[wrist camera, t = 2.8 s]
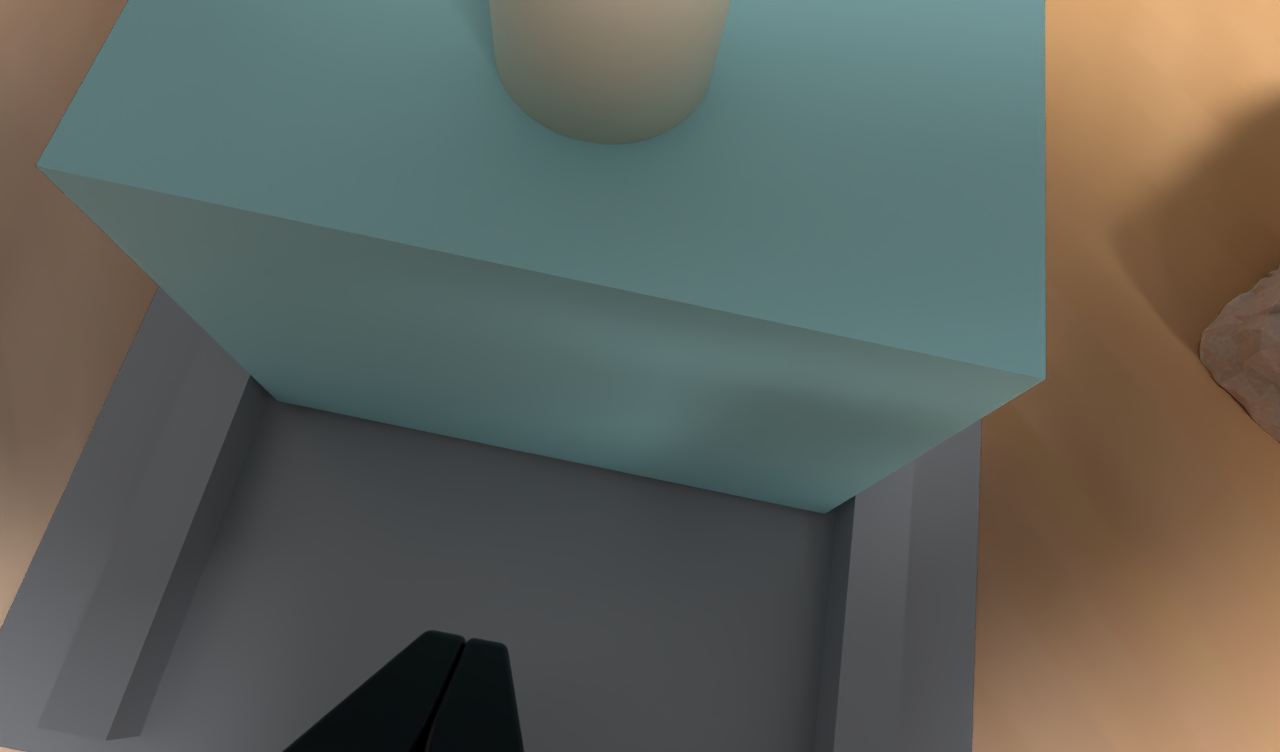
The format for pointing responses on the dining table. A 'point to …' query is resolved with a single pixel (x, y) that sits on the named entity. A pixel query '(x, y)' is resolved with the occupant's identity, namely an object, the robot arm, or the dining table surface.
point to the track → (470, 584)
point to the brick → (1249, 351)
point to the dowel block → (594, 218)
